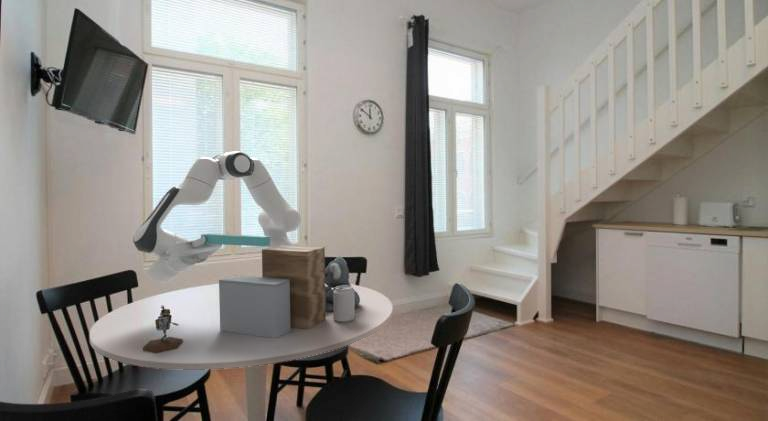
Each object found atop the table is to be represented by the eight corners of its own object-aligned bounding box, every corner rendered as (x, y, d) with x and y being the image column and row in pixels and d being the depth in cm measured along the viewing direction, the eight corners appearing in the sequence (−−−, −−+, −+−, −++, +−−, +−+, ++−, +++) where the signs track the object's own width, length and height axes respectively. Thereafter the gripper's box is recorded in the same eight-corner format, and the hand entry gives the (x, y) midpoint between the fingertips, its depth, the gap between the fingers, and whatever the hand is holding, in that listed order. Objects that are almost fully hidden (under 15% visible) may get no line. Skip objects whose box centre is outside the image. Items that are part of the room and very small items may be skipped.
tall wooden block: (283, 314, 156) (281, 245, 155) (325, 318, 150) (324, 247, 149) (263, 323, 145) (261, 249, 144) (308, 329, 139) (307, 251, 137)
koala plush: (321, 300, 175) (320, 254, 175) (363, 301, 174) (363, 255, 173) (310, 312, 158) (309, 261, 157) (356, 313, 156) (356, 262, 155)
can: (345, 315, 154) (345, 283, 153) (358, 319, 148) (358, 286, 148) (329, 320, 148) (329, 286, 148) (342, 324, 143) (342, 290, 143)
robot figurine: (173, 352, 119) (172, 311, 119) (138, 354, 118) (137, 312, 117) (185, 339, 130) (184, 301, 130) (153, 340, 129) (152, 302, 128)
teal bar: (207, 242, 145) (207, 233, 145) (270, 245, 136) (270, 236, 136) (201, 243, 142) (200, 234, 142) (264, 246, 133) (264, 237, 133)
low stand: (236, 323, 145) (235, 275, 144) (290, 330, 138) (289, 279, 137) (220, 330, 138) (218, 279, 137) (276, 338, 130) (275, 284, 129)
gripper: (155, 251, 138) (182, 232, 133) (202, 244, 157) (227, 227, 152) (162, 268, 137) (190, 249, 132) (209, 259, 156) (234, 242, 151)
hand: (210, 237), depth 142 cm, fingers closed on teal bar, 3 cm apart
